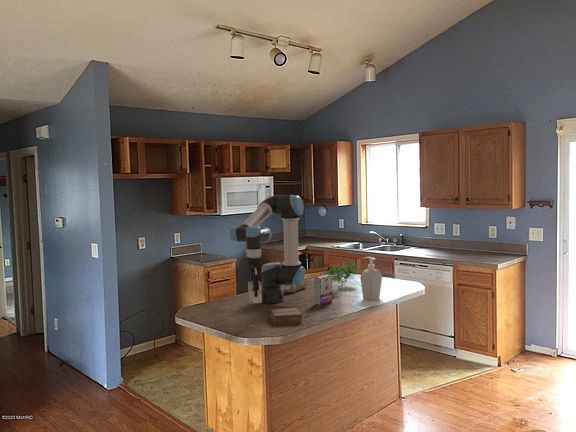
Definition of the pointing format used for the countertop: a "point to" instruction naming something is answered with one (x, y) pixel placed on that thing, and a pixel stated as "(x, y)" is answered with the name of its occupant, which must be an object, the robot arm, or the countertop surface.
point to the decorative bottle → (294, 287)
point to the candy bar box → (323, 289)
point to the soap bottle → (371, 281)
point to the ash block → (250, 292)
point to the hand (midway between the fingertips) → (254, 301)
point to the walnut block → (286, 316)
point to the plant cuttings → (339, 273)
